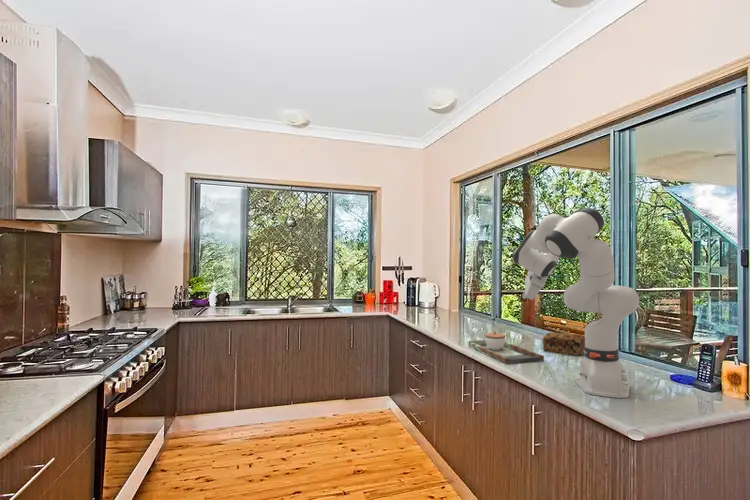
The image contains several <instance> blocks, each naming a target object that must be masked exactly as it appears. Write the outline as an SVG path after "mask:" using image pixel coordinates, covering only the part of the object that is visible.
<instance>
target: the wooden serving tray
mask: <svg viewBox="0 0 750 500" xmlns="http://www.w3.org/2000/svg"><path fill="white" fill-rule="evenodd" d="M469 346H470V347H469ZM468 347H469V348H471V347H472V348H471V349H473V348H474V349H473V350H475V349H477V350H479V351H478V352H480V351H481V352H480V353H482V352H484V353H486V354H488V355H490V356H492V357H493V359H494V358H495V360H496V359H497V360H496V361H498V360H499V361H498V362H501V363H503V364H505V365H511V364H512V365H513V364H515V365H516V364H524V363H535V362H536V363H537V362H544V361H545V355H543V354H539V353H538V352H535V351H532V350H529V349H527V348H524V347H521V346H518V345H516V344H513V343H511V342H508V341H506V340H505V344H504V346H503V347H504V348H507V349H510V350H512V351H514V352H517V353H519V354H517V355H502V354H499V352H498V353H497V352H495V351H494V350H491V349H489V348H486V347H488V346H487V345H486V342H485V339H482V340H481V339H479V340H478V339H477V340H468ZM477 350H476V351H477ZM484 353H483V354H484ZM486 354H485V355H486ZM488 355H487V356H488ZM490 356H489V357H490ZM492 357H491V358H492Z"/></svg>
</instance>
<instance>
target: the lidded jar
mask: <svg viewBox="0 0 750 500" xmlns="http://www.w3.org/2000/svg"><path fill="white" fill-rule="evenodd" d="M484 340H485V342H486V345H487V346H486V347H488V349H489V350H491V351H500V350H501V351H502V348H503V347H504V344H505V341H506V334H504V333H500V332H496V331H493V332H487V333H484Z"/></svg>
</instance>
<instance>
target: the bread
mask: <svg viewBox="0 0 750 500" xmlns="http://www.w3.org/2000/svg"><path fill="white" fill-rule="evenodd" d="M584 346H585V335H582V334H577V333H569V332H565V333H563V332H562V333H561V332H548V333H546V334H545V335H544V336H543V338H542V348H543V351H544V352H548V353H553V354H554V353H556V354H561V355H567V356H578V357H579V356H584V352H583V349H584Z"/></svg>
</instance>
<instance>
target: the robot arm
mask: <svg viewBox="0 0 750 500" xmlns="http://www.w3.org/2000/svg"><path fill="white" fill-rule="evenodd" d="M604 225H605V220H604V217H603V215H602V214H601V213H600V212H599V211H598V210H597V209H594V208H591V207H584V208H581V209H578V210H576V211H572V212H571V213H570V215H569V216H568V217H564V216H563V215H561V214H556V213H552V214H547V215H546V216H544V217H543V219H542V220H541V221H540V223H539V225H538V226H537V229H532V230H530V231H529V232H528V233H527V234H526V236H525V237H524V238H523V239H522V241H521V243H520V244H519V246H518V247H516V249H515V250H514V252H513V254H512V259H513V262H514V263H515V264H516V265H519V266H521V267H523V268H524V269H526V270H528V272H527V276H526V277H525V279H524V290H523V293H522V299H524V300H526V299H529V300H531V301H533V300H534V299H535V298H536V297H537V296H538V294H539V293H540V291H541V290H542V288H544V287H545V285H546V281H547V279H548V278H549V276H551V275H552V274H553V273H554V271H555V269H556V268H557V264H558V261H559V259H560V258H562V259H569V260H572V259H576V258H577V259H578V264H579V265H578V266H579V273H580V274H579V280H578V281H576V282H575V283H574V284H572V285H569V286H568V287H566V288H565V290H564V293H563V301H564V304H565V306H566V307H567V308H568V309H569V310H573V311H576V312H577V311H578V312H581V313H583V312H584V313H598V314H602V317H601V318H600V319H598V320H595V321H592V322H590V323H588V324H586V326H585V327H584V337H585V346H584V349H583V352H584V354H583V356H584V357H583V358H581V359H580V360H579V377H575V378H574V382H575V383H576V384H577V385H578V387H580V389H581V390H582V391H583V392H584V393H585V394H588V395H594V396H598V397H599V396H600V397H605V398H617V399H627V398H629V397H630V389H631V388H630V387H631V385H630V383H627V382H628V375H626V374H625V373H626V369H624V367H623V363H622V362H621V361H620V353H619V349H618V333H619V329H620V325H621V323H622V322H623V321H624V320H625V319H626V318H627V317H628V316H629V315H631V314H633V313H634V312H635V311H636V310H637V309H638V308H639V306H640V297H639V294H638V293H637V291H636V290H635V289H634V288H632V287H629V286H624V285H619V284H617V285H615V284H614V282H615V279H616V278H615V277H616V276H615V261H614V256H613V252H612V250H611V248H610V245H609V244H608V243H607V242H606V241H605V240H602V239H597V238H595V239H594V237H595V236H596V235H598V234H599V233H600V232H601V230H602V229H604Z"/></svg>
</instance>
